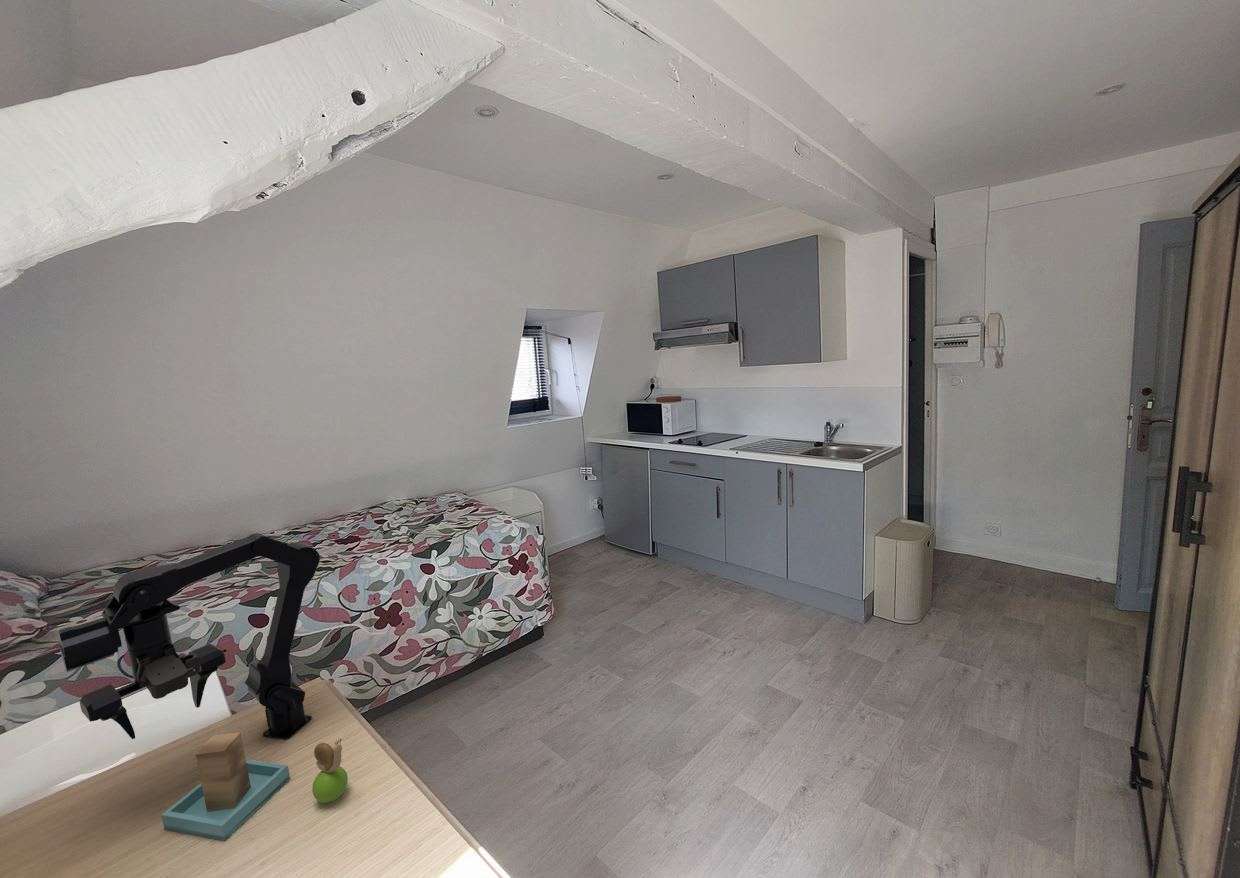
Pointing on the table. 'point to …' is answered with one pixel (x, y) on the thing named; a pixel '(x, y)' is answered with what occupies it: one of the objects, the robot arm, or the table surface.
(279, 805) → the table surface
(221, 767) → the walnut block
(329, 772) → the snail figurine
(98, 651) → the robot arm
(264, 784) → the teal tray
